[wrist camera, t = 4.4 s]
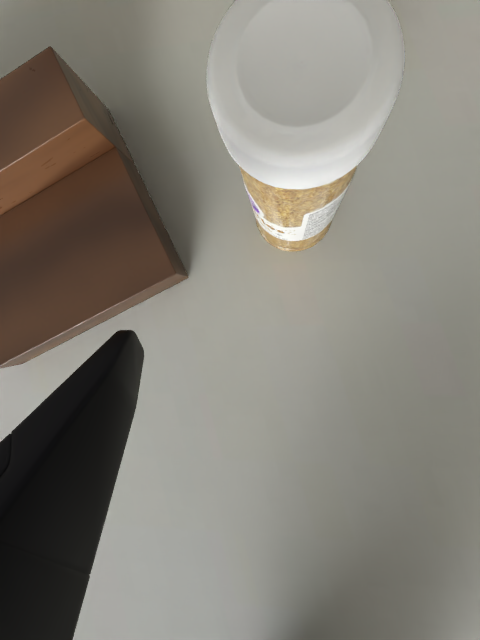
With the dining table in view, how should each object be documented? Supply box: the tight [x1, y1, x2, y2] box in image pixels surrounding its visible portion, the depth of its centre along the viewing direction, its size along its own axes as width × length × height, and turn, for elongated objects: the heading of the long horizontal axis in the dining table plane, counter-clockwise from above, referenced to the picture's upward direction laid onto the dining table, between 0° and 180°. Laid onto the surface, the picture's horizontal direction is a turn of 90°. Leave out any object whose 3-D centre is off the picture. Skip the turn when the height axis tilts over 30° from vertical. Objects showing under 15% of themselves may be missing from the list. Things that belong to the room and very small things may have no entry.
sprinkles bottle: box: [206, 0, 405, 251], centre depth 14 cm, size 5×5×14 cm
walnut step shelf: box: [0, 46, 188, 368], centre depth 21 cm, size 12×13×6 cm
